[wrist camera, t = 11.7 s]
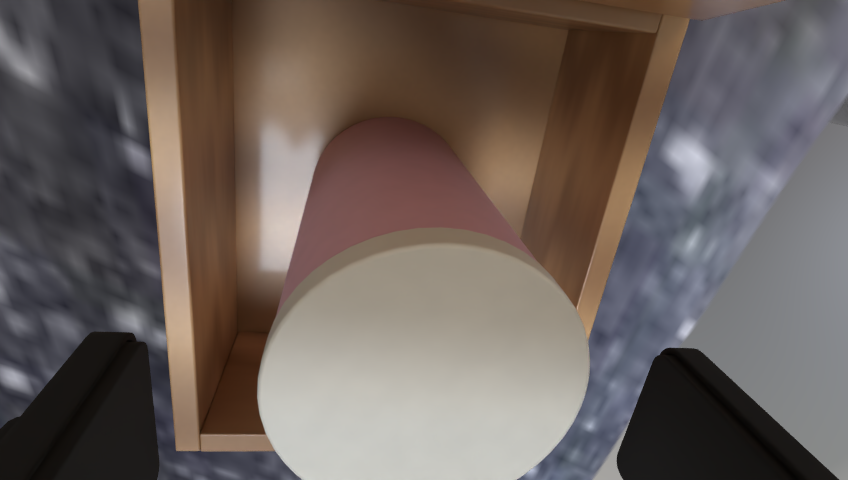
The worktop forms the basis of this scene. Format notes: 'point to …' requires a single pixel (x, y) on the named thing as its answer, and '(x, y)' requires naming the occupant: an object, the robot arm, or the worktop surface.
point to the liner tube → (415, 324)
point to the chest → (362, 100)
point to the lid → (688, 6)
